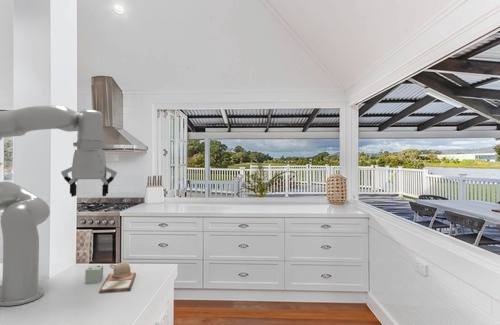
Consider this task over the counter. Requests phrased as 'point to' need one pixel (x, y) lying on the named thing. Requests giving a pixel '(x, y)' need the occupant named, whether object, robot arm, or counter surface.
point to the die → (94, 274)
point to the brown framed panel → (117, 283)
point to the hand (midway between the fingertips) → (89, 195)
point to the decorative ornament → (121, 269)
